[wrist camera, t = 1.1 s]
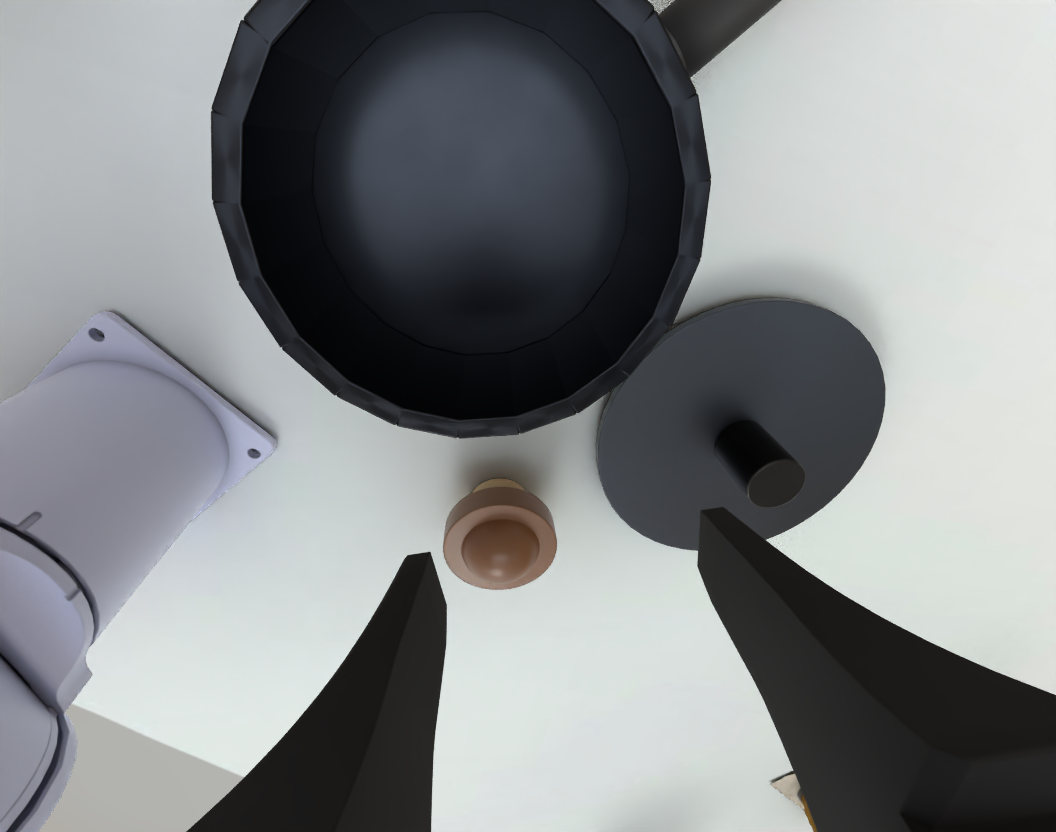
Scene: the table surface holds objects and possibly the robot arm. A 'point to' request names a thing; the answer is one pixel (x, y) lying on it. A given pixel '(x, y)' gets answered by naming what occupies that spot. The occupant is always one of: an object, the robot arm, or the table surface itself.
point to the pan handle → (709, 26)
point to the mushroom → (499, 536)
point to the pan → (461, 199)
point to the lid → (741, 420)
